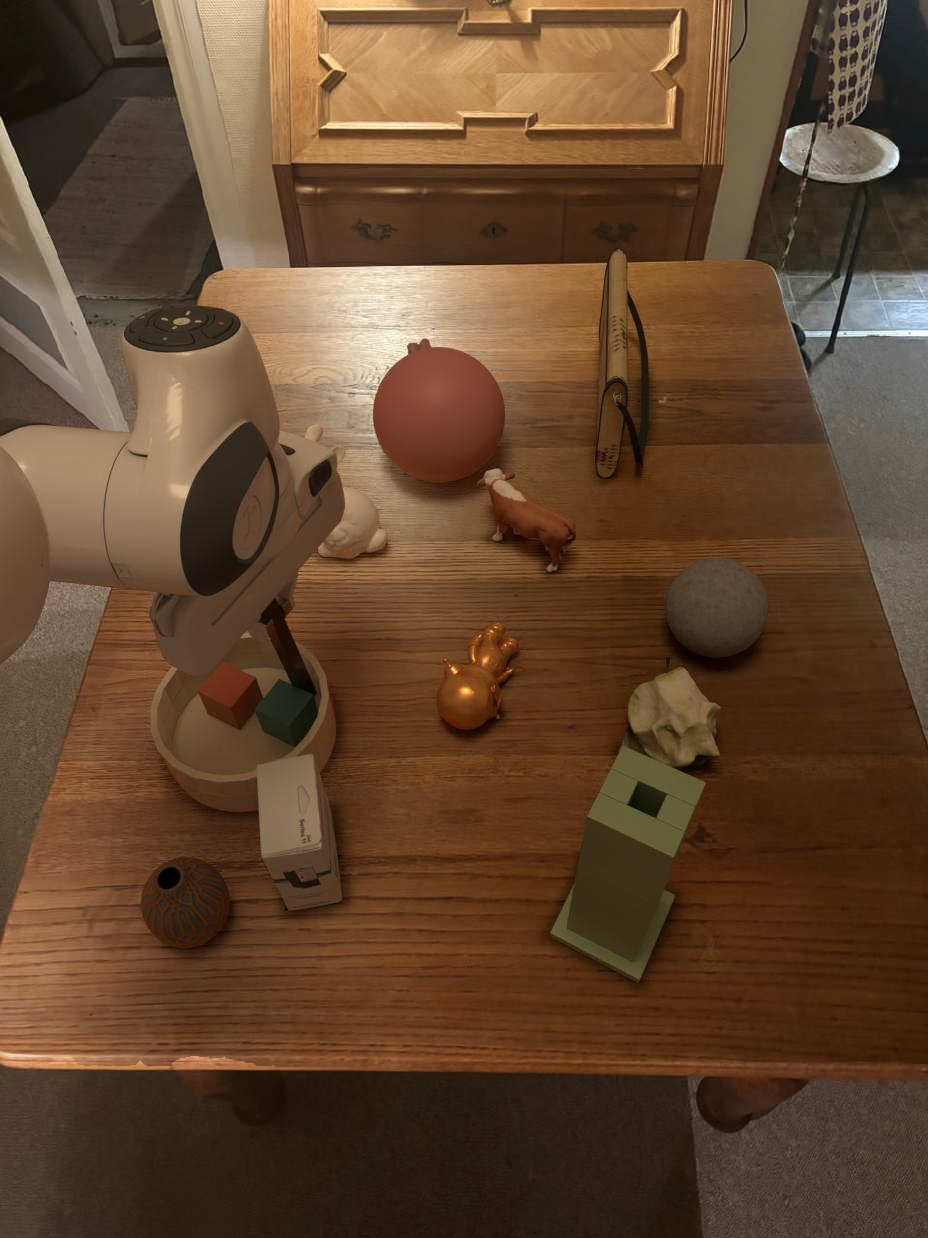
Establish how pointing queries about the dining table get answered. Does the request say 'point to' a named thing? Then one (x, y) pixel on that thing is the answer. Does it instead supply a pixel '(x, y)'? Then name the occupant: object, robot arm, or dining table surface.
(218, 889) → the vase
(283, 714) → the teal block
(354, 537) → the rabbit
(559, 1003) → the dining table surface
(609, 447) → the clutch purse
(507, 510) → the bull figurine
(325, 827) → the ink box
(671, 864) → the stick stand
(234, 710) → the terracotta block
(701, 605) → the decorative ball
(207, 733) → the bowl
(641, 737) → the cream irregular lump
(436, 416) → the balloon
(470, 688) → the figurine
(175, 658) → the robot arm
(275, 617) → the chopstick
